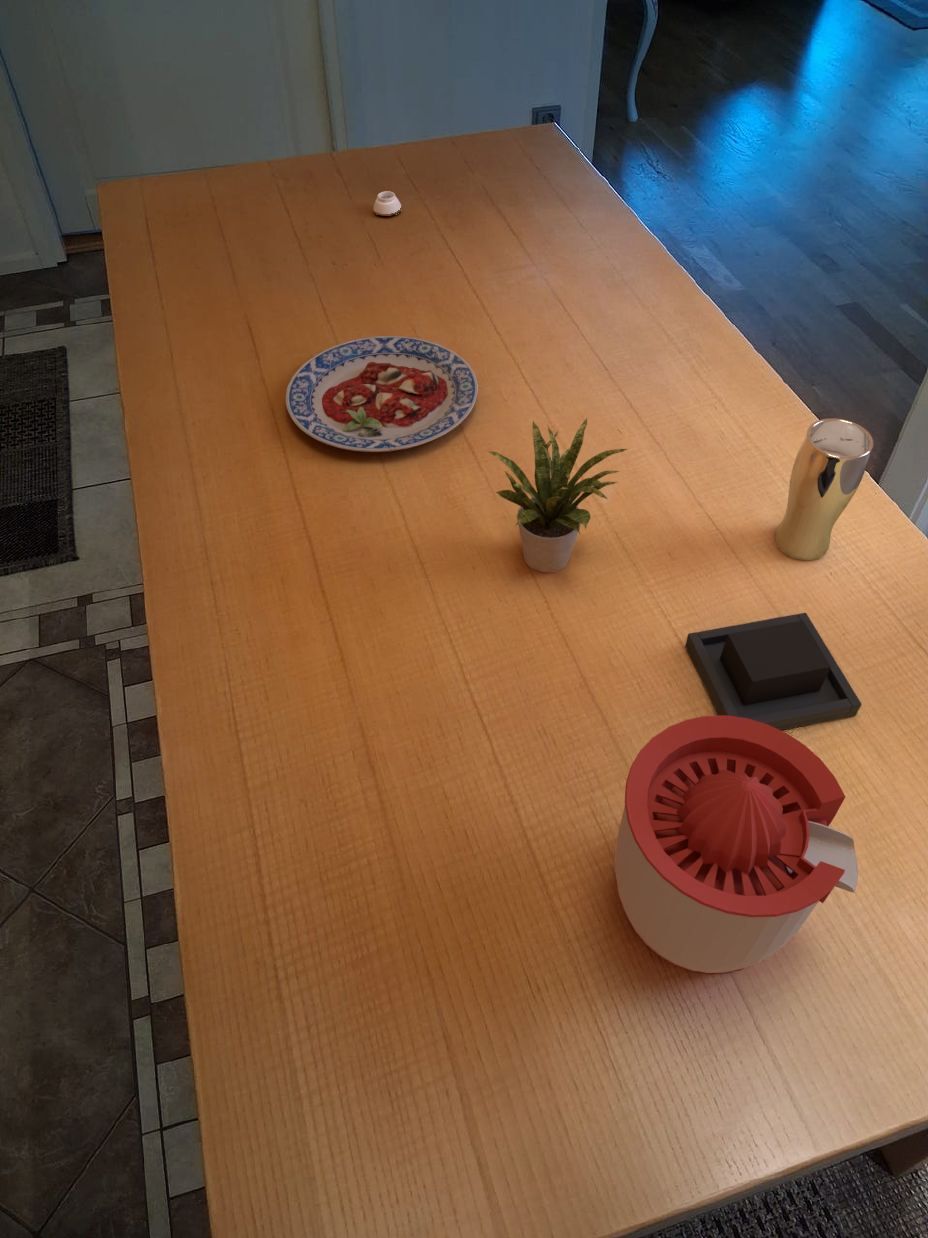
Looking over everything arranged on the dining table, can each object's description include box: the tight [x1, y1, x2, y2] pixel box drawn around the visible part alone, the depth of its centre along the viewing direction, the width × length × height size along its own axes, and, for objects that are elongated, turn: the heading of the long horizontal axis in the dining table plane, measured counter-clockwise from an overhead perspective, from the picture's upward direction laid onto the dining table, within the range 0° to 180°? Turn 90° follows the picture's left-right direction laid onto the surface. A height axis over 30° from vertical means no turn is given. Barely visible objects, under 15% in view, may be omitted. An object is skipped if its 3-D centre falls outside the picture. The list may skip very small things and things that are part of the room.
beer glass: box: [773, 417, 874, 562], centre depth 97 cm, size 7×7×15 cm
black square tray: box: [685, 612, 862, 731], centre depth 90 cm, size 13×12×2 cm
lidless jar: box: [372, 190, 402, 214], centre depth 157 cm, size 5×3×5 cm
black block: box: [720, 620, 831, 705], centre depth 88 cm, size 8×6×4 cm
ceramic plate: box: [285, 335, 479, 453], centre depth 121 cm, size 26×26×3 cm
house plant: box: [487, 417, 629, 574], centre depth 96 cm, size 14×14×16 cm
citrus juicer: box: [614, 715, 859, 975], centre depth 68 cm, size 16×17×20 cm
